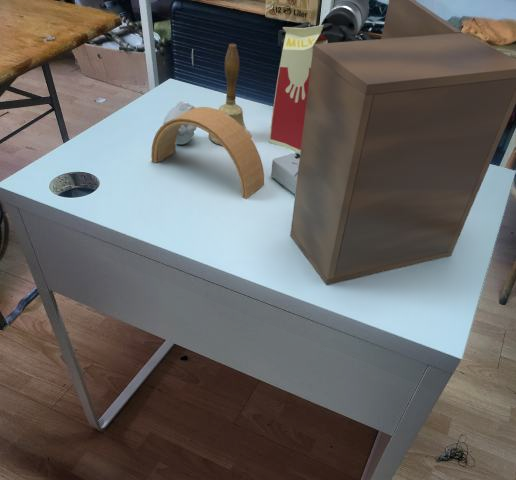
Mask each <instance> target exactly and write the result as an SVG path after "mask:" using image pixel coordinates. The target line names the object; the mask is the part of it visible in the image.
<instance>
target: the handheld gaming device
mask: <svg viewBox="0 0 516 480" xmlns="http://www.w3.org/2000/svg"><path fill="white" fill-rule="evenodd" d="M300 152H301V151H300ZM300 152H294V153H290V154H287V155H282V156H279V157H276V158H273V159H272V161H271V162H272V163H271V172H270V173H271V175H270V176H271V178H273V179H274V180H276V181H277V182H278V183H279V184H280V185H282V186H283V187H284V188H286V189H287V190H288V191H289V192H290V193H292V194H293V195H295V193H296V185H297V176H298V168H299V160H300Z"/></svg>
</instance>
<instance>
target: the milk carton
mask: <svg viewBox="0 0 516 480" xmlns="http://www.w3.org/2000/svg"><path fill="white" fill-rule="evenodd" d="M323 26H324V25H321V24H320V25H315V26H314V25H313V26H311V27H308V28H291V26H289V27H288V26H283V27H282V30H283V29H284V30H285V31H286V36H285V40H284V45H283V50H281V51H282V56H281V55H280V62H279V67H278V74H277V80H276V87H275V92H274V93H275V94H274V100H273V106H272V114H271V122H270V130H269V140H268V143H270V144H273V145H276V146H279V147H283V148H285V149H288V150H290V151H293V152H294V153H296V152H300V151H301V144H302V135H303V127H304V119H305V111H306V103H307V95H308V86H309V78H310V70H311V62H312V55H313V54H312V53H313V45H314V44H324V43H327V39H326V38H325V37H324V36H323V35H322V34H321V32H322V29H323Z"/></svg>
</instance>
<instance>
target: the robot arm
mask: <svg viewBox="0 0 516 480" xmlns="http://www.w3.org/2000/svg"><path fill="white" fill-rule="evenodd" d="M369 2H370V0H334V5H333V7H332V9H331V10H330V11H329V12H328V13H327V15H326V16H325V17H324V18H323V19H322V22H321V23H320V25H324V26H323V29H322V32H321V34H322V35H323V36H324V37H325V38H326V39H327V43H337V42H350V41H363V40H373V39H372V37H371V36H370V33H369V32H368V31H363V33H359V32H360V30H361V29H362V28H363V27H364V25H365V24H366V22H367V20H368V17H369V12H370V4H369ZM308 27H312V25H311V22H310V21H305V22H303V23H302V24H299V25H295V26H290V28H308ZM358 33H359V35H358ZM285 36H286V31H285V30H284V29H283V28H282V29H280V30H278V34H277V46H279V47H280V50H281V53H280V54H281V55H280V57H281V56H282V50H283V45H284V40H285Z"/></svg>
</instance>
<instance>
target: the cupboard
mask: <svg viewBox="0 0 516 480" xmlns="http://www.w3.org/2000/svg"><path fill="white" fill-rule="evenodd" d="M312 54H313V55H312V62H311V70H310V78H309V86H308V95H307V103H306V111H305V119H304V127H303V135H302V144H301V152H300V160H299V168H298V176H297V185H296V186H295V187H296V193H295V194H294V200H293V201H294V202H293V209H292V210H293V211H292V218H291V225H290V226H291V227H290V234H289V237H290V238H291V239H292V241H293V242H294V243H295V245H296V246H297V247H298V249H299V250H300V252H301V253H302V254H303V256H304V257H305V258H306V260H307V261H308V263H309V264H310V265H311V267H312V268H313V270H315V272H316V273H317V275H318V276H319V277H320V279H321V281H322V282H323V283H324V285H326V286H330V285H334V284H338V283H343V282H347V281H351V280H354V279H360V278H364V277H368V276H372V275H376V274H381V273H385V272H389V271H394V270H397V269H401V268H406V267H410V266H414V265H419V264H422V263H427V262H431V261H435V260H441V259H444V258H448V257H451V256H452V255H453V253H454V251H455V248H456V245H457V242H458V240H459V239H460V236H461V233H462V231H463V229H464V226H465V224H466V222H467V219H468V217H469V214H470V212H471V210H472V208H473V205H474V203H475V201H476V198H477V196H478V193H479V191H480V189H481V186H482V185H483V181H484V179H485V176H486V175H487V172H488V170H489V167H490V165H491V162H492V160H493V158H494V155H495V154H496V152H497V151H496V150H497V148H498V146H499V143H500V142H501V139H502V137H503V134H504V132H505V129H506V127H507V125H508V122H509V120H510V118H511V115H512V113H513V112H514V108H515V106H516V58H514V57H513V56H511V55H508V54H506V53H504V52H502V51H500V50H498V49H496V48H494V47H492V46H490V45H488V44H486V43H484V42H482V41H481V40H478V39H476V38H475V37H472V36H471V35H468V34H467V33H464V32H462V33H454V34H441V35H428V36H415V37H402V38H389V39H381V38H379V39H372V40H363V41H350V42H337V43H324V44H314V45H313V53H312Z"/></svg>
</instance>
